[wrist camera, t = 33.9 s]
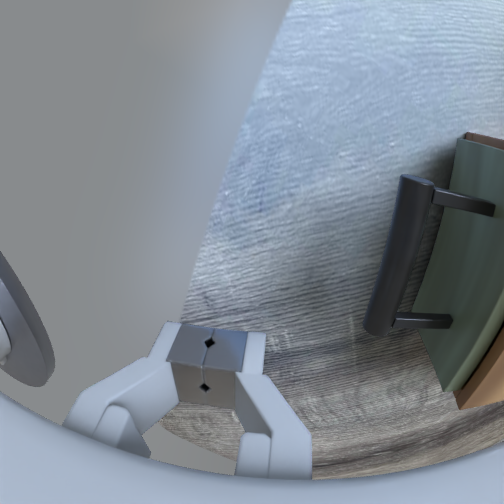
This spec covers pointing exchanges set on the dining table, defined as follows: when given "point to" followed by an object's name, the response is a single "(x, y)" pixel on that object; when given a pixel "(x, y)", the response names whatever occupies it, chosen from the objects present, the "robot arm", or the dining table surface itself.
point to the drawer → (448, 264)
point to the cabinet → (500, 355)
